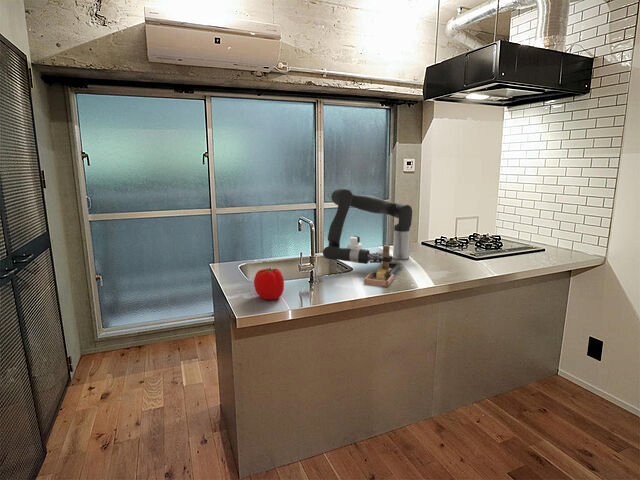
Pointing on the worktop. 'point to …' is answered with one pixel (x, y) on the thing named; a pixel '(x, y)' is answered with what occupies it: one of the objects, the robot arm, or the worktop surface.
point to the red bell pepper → (269, 283)
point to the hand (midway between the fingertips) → (391, 259)
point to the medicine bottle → (354, 243)
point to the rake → (386, 254)
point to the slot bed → (395, 270)
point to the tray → (377, 282)
